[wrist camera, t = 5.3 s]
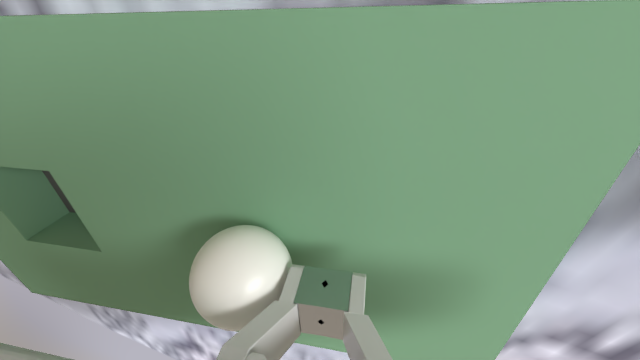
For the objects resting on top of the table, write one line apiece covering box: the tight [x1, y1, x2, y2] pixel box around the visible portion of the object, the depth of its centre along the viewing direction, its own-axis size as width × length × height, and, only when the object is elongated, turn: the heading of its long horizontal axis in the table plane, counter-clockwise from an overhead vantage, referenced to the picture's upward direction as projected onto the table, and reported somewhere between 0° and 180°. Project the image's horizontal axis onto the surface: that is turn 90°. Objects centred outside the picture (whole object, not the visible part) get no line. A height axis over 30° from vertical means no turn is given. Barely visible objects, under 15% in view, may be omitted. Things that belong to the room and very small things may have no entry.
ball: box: [189, 225, 292, 331], centre depth 11 cm, size 4×4×4 cm
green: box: [0, 0, 640, 360], centre depth 15 cm, size 18×32×3 cm, turn 90°
